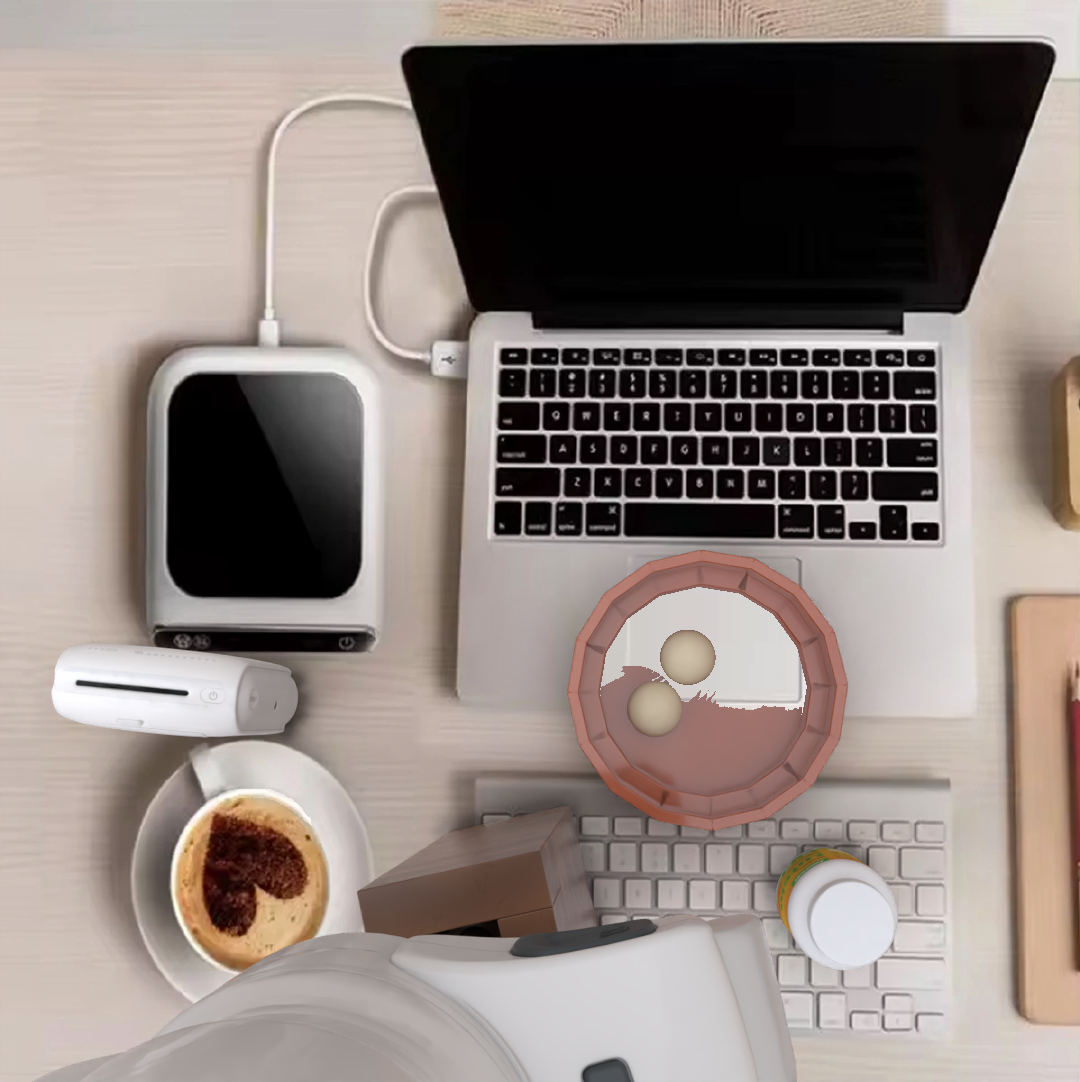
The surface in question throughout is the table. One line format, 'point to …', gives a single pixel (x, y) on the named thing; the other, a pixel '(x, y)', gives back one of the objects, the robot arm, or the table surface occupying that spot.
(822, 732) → the bowl
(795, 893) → the supplement bottle
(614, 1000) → the robot arm
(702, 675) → the dough ball
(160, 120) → the table surface
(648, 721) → the dough ball
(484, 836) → the holder
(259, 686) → the photo printer
